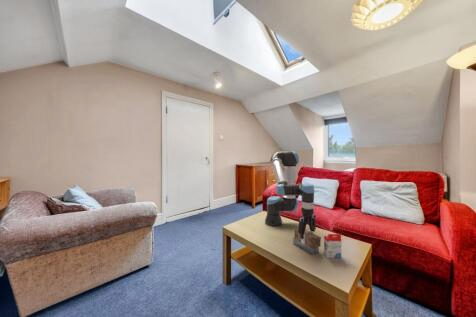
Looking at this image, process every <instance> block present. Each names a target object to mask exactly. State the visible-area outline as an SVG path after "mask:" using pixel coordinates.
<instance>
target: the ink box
mask: <svg viewBox="0 0 476 317" xmlns="http://www.w3.org/2000/svg"><path fill="white" fill-rule="evenodd" d="M323 255H324V256H326V258H328V259H329V258H330V259H333V258H342V234H341V233H328V234H327V235H323Z"/></svg>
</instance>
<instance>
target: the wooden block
mask: <svg viewBox="0 0 476 317" xmlns="http://www.w3.org/2000/svg"><path fill="white" fill-rule="evenodd" d="M304 234H305V245H307V246H308V247H310V248H312V249H315V248H317V247H319V248H320V247H321V245H322V244H321V242H322V240H321V239H322V237H321V236H319V235H317V234H315V233H314V232H313V233H311V232H309V230H306V229H305V233H304ZM294 237H295V239H296V240H298V241H299V242H301V234H300V233H298V228H297V229H294Z"/></svg>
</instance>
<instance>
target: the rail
mask: <svg viewBox="0 0 476 317" xmlns="http://www.w3.org/2000/svg"><path fill="white" fill-rule="evenodd" d="M292 244H294V245H295V246H297V247H299V248H300V249H302V250H303V251H305V252H307V253H309V254H310V255H312V256H313V255H316V254H318V253H319V252H320V247H317V248H315V249H312V248H310V247H308V246H307V245H305V244H302V243H301V242H299V241H298V240H296V239H295V236H294V237H293V238H292Z"/></svg>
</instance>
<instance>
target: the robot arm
mask: <svg viewBox="0 0 476 317" xmlns="http://www.w3.org/2000/svg"><path fill="white" fill-rule="evenodd" d="M299 162H300V157H299V154H298V153H297V151H294V150H286V151H285V150H283V151H282V150H279V151H276V152H273V154H272V155H271V157H270V165H271V167H272V169H273V173H274V176H275V180H276V185H275V193H276V195H277V196H276V195H274V196H270V197H268V198H267V200H266V217H265V219H264V223H265V225H268V226H271V227H279V226H282V225H283V220H282V217H281V212H285V213H286V212H290V213H291V212H297V210H298V208H299V200H298V198H297V197H296V196H301V209H300V210H301V214H302V216H301V217H299V218H298V228H297V229H298V233H300V234H301V243H302V244H305V234H304V233H305V230H306V228H307V225H308V227H309V230H308V231H309V232H311V233H313V234H314V232H315V231H316V229H317V226H316V215H315V214H314V211H315V209H314V207H315V205H314V204H315V201H314V200H315V186H314V184H311V183H297V184H295V168H296V167H297V165H299Z"/></svg>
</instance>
